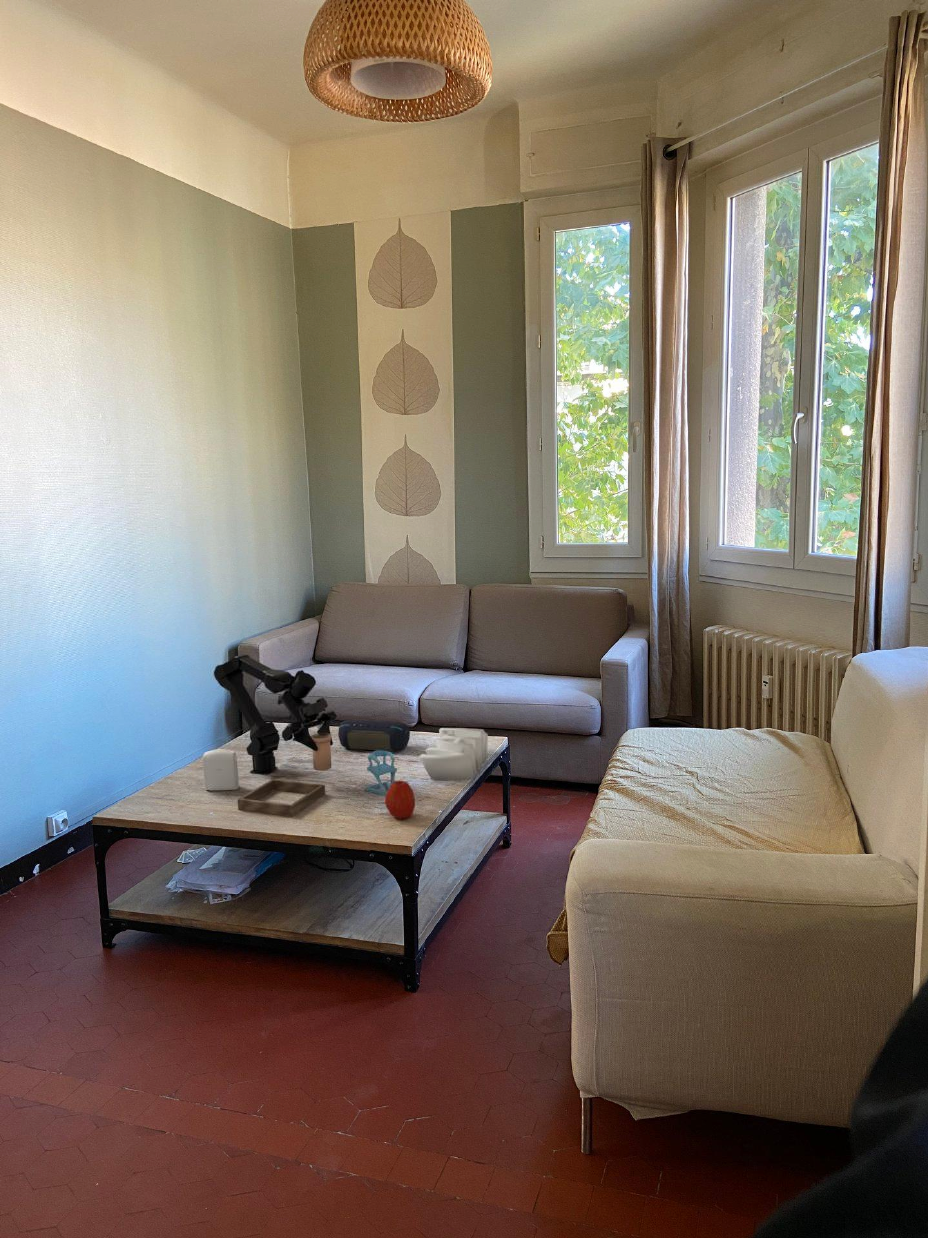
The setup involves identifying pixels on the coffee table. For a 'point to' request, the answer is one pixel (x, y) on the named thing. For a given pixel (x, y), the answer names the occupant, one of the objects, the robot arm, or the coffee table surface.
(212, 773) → the photo printer
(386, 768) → the chair
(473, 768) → the white wavy slab sculpture
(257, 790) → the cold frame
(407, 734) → the portable speaker
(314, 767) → the terracotta pot
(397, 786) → the apple
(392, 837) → the coffee table surface
